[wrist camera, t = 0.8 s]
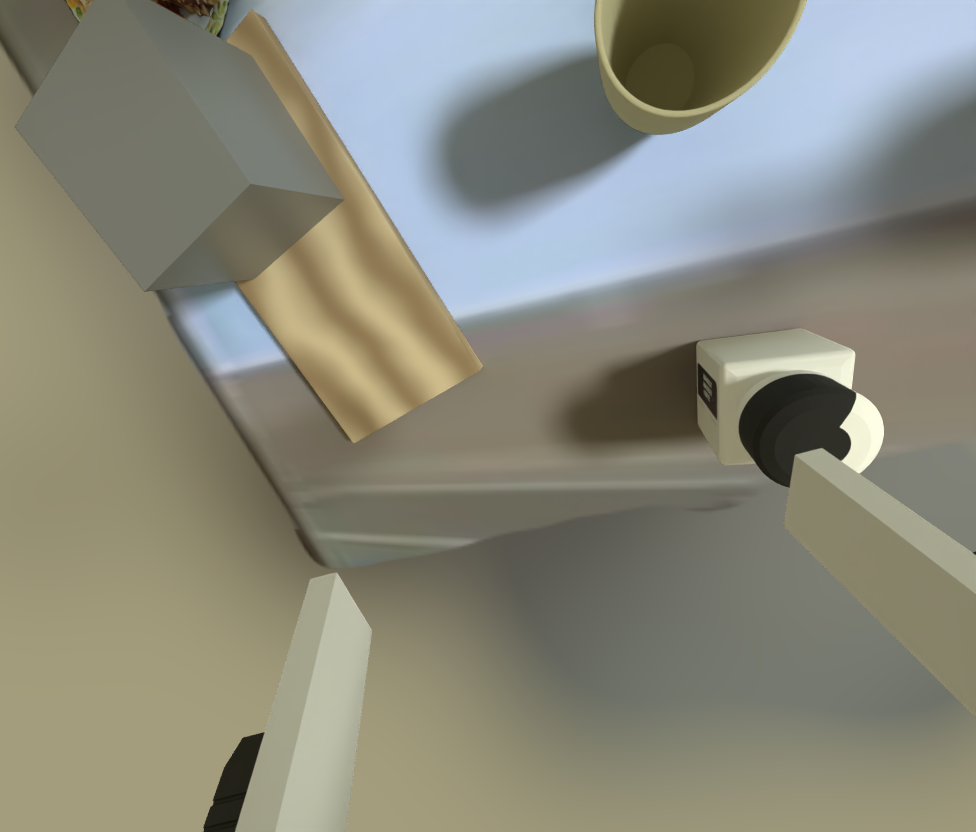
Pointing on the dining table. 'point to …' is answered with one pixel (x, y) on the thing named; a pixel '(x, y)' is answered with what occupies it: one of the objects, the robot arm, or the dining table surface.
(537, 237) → the dining table surface
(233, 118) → the grey matte cube
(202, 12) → the food
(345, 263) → the board
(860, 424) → the container
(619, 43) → the mug
